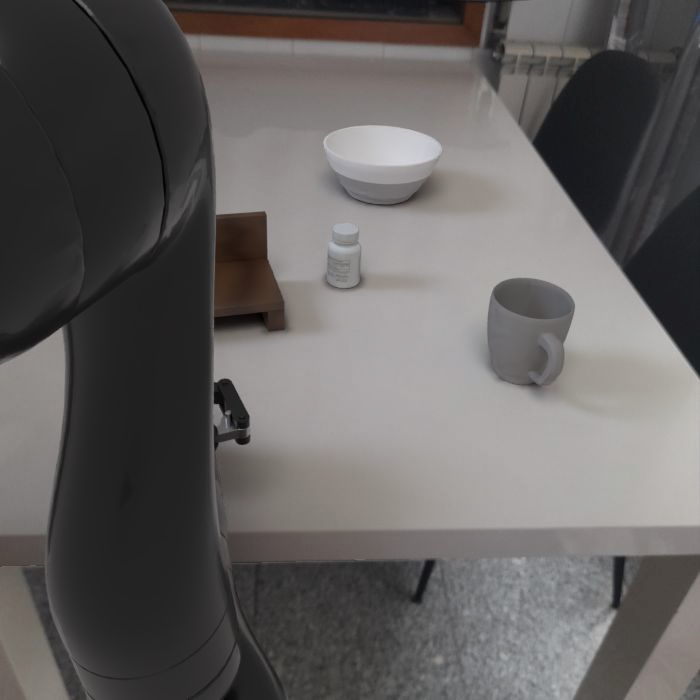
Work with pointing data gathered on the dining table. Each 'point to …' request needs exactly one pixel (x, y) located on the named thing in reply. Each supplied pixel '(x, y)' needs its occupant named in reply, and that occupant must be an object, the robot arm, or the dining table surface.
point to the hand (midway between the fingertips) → (155, 367)
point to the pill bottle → (344, 256)
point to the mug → (528, 330)
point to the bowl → (381, 161)
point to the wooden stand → (245, 270)
